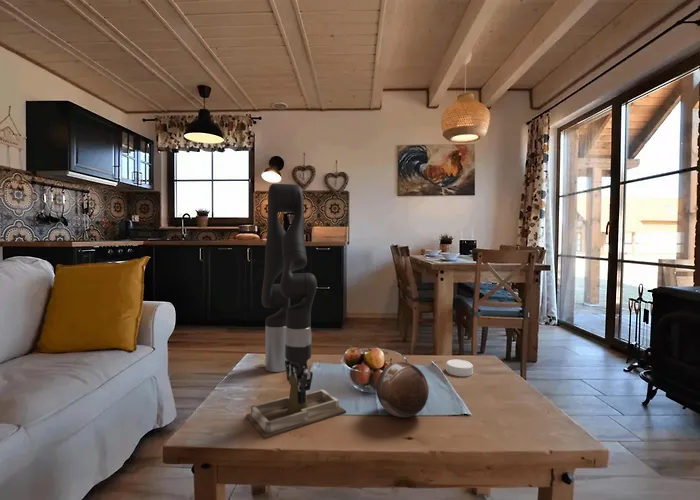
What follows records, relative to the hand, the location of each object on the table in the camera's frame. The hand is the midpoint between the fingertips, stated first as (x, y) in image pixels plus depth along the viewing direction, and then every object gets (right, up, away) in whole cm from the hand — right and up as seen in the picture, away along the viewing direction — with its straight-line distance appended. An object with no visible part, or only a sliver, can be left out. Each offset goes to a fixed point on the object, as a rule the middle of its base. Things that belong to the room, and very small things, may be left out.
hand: (298, 399), depth 106 cm
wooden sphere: (+30, -5, 0) cm, 31 cm away
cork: (0, -3, 0) cm, 3 cm away
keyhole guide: (0, -4, 0) cm, 4 cm away
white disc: (+57, -4, +35) cm, 67 cm away
